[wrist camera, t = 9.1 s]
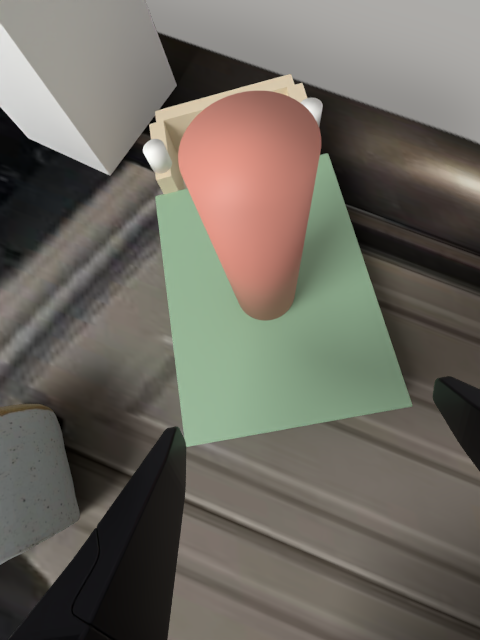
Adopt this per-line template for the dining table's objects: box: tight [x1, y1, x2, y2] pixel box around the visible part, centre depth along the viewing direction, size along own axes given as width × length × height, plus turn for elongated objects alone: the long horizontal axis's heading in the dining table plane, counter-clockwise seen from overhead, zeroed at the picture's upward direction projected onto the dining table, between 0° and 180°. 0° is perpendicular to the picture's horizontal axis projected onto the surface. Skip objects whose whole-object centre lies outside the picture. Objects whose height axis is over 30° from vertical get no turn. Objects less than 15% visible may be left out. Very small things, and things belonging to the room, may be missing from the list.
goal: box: [143, 74, 323, 194], centre depth 22 cm, size 7×13×6 cm, turn 100°
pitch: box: [155, 153, 412, 447], centre depth 21 cm, size 19×14×2 cm
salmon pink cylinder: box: [178, 91, 321, 321], centre depth 13 cm, size 4×4×12 cm
